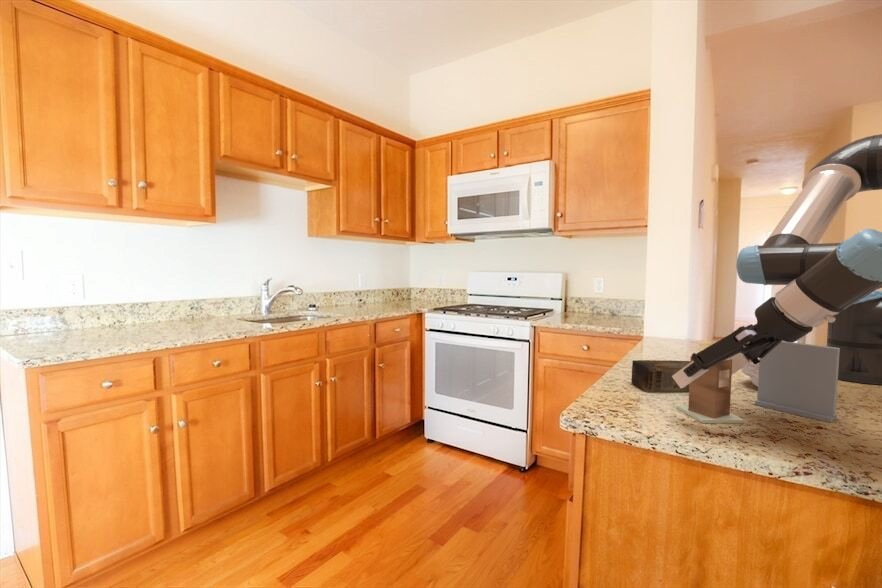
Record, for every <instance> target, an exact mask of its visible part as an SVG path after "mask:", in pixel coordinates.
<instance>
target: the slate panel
mask: <svg viewBox="0 0 882 588" xmlns="http://www.w3.org/2000/svg"><path fill="white" fill-rule="evenodd" d="M839 354H840V348H835V347H827V346H826V345H818V344H810V343H808V344H807V343H803V342H785V341H781V342H780V343H779V344H778V345H777V346H776V347H775V348H773V349H772V350H771V351H770V352H769V353H768V354H767V355H765V356H764V357H763V358H760V361H761V362H759V379H758V387H757V398H756V400H754V406H758V407H763V408H767V409H771V410H776V411H780V412H784V413H787V414H793V415H796V416H802V417H805V418H809V419H814V420H818V421H822V422H827V423H832V422H834V421H835V420H837V419H838V413H837V411H836V410H837V409H836V408H837V396H838V383H839V381H838V380H839V379H838V369H839Z"/></svg>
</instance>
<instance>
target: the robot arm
mask: <svg viewBox="0 0 882 588" xmlns="http://www.w3.org/2000/svg"><path fill="white" fill-rule="evenodd" d="M801 184H802V185H801V187H802V190H801V191H800V193H799V194H798V195H797V197H796V198H795V200H794V201H793V202H792V204H791V205H790V207H789V208H787V209H788V210H787V211H786V212H785V214H784V215H783V216H782V218H781V220H780V221H779V222H778V223H777V225H776V226H775V228H774V229H773V230H772V232H771V234H770V235H769V236H768V238H767V239H766V240H765V241H764V243H763V244H762V245H758V244H755V245H751V246H750V245H749V246H746V247H743V248H741V250H740V251H739V253H738V255H737V258H736V272H737V276H738V278H739V279H740V280H741V281H742V282H743V283H746V284H756V285H757V284H758V285H764V286H784V287H783V288H781V289H780V290H779V291H777V292H776V293H775V295H774V296H773V297H770V298H769V299H767V300H765V301H764V302H763V303H762V304H760V305H759V306H757V307H756V308H755V309H754V316H755V318H756V323H754V325H753V324H749V325H746V326H745V325H742V326H739V327H738V328H736V330H734V331H732V332H731V333H730V334H727V335H726V336H725V337H723V338H721V339H719V340H718V341H716V342H714V343H712V344H711V345H709V346H707V347H705V348H704V349H702V350H699V352H697V353H696V352H693V353H692V354H691V356H690V360H691V359H692V360H693V361H692V362H690V363H689V364H687V365H686V366H685V367H683V368H682V369H681V370H679V371H678V372H677V373H675V374H674V375H673V376H672V377H673V379H674V380H675V381H676V383H677V384H678V386H679V387H680V388H684V387H685V386H687V385H688V384H690V383H691V382H692V381H694V380H695V379H697V378H698V377H700V376H701V375H702V374H704V373H705V372H707V371H708V368H710V367H712V366H714V365H716V364H718V363H720V362H722V361H724V360H726V359H728V358H729V359H732V375H734V374H735V373H738V371H740V370H741V369H742V368H743V367H745V366H746V365H748V364H749V363H751V362H750V361H749V360H751V361H752V362H753V363H754V364H758V363H759V362H761V361H760V360H759V359H758V357H759V358H763V357H764V356H765V355H767V354H768V353H769V352H770V351H771V350H772V349H773V348H775V347H776V346H777V345H778V344H779V343H780V342H781V341H785V342H794V343H796V342H797V341H798V340H800V339H802V338H803V337H805V336H806V335H808V334H809V333H811V332H812V331H813V328H818V327H820V326H822V325H823V324H824V323H826V322H827V336H826V337H827V338H826V345H825V346H827V347H835V348H840V354H839V369H838V380H840V381H841V380H842V381H847V382H854V383H860V384H868V385H869V384H870V385H882V290H880V289H882V231H879V230H876V229H872V228H865V229H861V230H859V231H858V232H857V233H855V234H854V235H852V236H851V237H849V238H848V239H845V240H843V241H842V242H829V243H828V242H827V243H824V242H823V243H820V241H821V240H822V238H823V237H824V235H825V233H826V232H827V231H828V229H829V227H830V226H831V224H832V222H833V221H834V219H835V217H836V216H837V214H838V213H839V211H840V210H841V208H842V207H843V205H844V204H845V202H847V201H848V200H850V199H852V198H853V197H854V196H855V195H856V194H857V193H861V192H869V191H880V190H882V133H881V134H880V133H879V134H873V135H869V136H865V137H862V138H859V139H856V140H854V141H852V142H849V143H847V144H845V145H844V146H841V147H839V148H837V149H836V150H835V151H832V152H831V153H829V154H828V155H827V156H825V157H823V158H822V159H821V160H819V162H817V163H815V165H814V166H813V167H812V168H811V169H810V170H809V171H808V172H807V174H805V177H804V178H803V181H802V183H801Z"/></svg>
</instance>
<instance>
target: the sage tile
mask: <svg viewBox="0 0 882 588" xmlns="http://www.w3.org/2000/svg"><path fill="white" fill-rule="evenodd" d="M688 407H689V404H687V405H681V404H679V405H676V409H677V410H679V411H680V410H681V412H682V411H683V412H682V413H684V414H685V415H687V414H688V416H689V415H690V416H689V417H691V416H692V417H694V418H695V419H694V418H693V419H694V420H696V419H697V420H696V421H698V420H699V421H700V423H701V422H702V423H701V424H744V423H745V420H744V419H743V418H741V417H739V416H737V415H735V414H733V413H731V412H730V415H726V416H722V417H719V418H715V419H714V418H711V417H707V416H704V415H701V414H698V413H695V412H692V411H689V410H688ZM692 417H691V418H692ZM699 421H698V422H699Z"/></svg>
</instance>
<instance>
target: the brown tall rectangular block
mask: <svg viewBox="0 0 882 588" xmlns="http://www.w3.org/2000/svg"><path fill="white" fill-rule="evenodd" d="M689 361H690V362H692V361H693V360H692V359H691V358H690V359H689ZM732 375H733V374H732V359H729V358H728V359H726V360H724V361H722V362H720V363H718V364H716V365H714V366H712V367H710V368H708V371H707V372H705V373H704V374H702V375H701V376H700V377H698V378H697V379H695V380H694V381H692V382H691V383H690V384H689V392H688V405H689V407H688V410H689V411H692V412H695V413H698V414H701V415H704V416H707V417H711V418H714V419H715V418H719V417H722V416H726V415H730V413H731V396H732V392H731V391H732Z"/></svg>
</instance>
